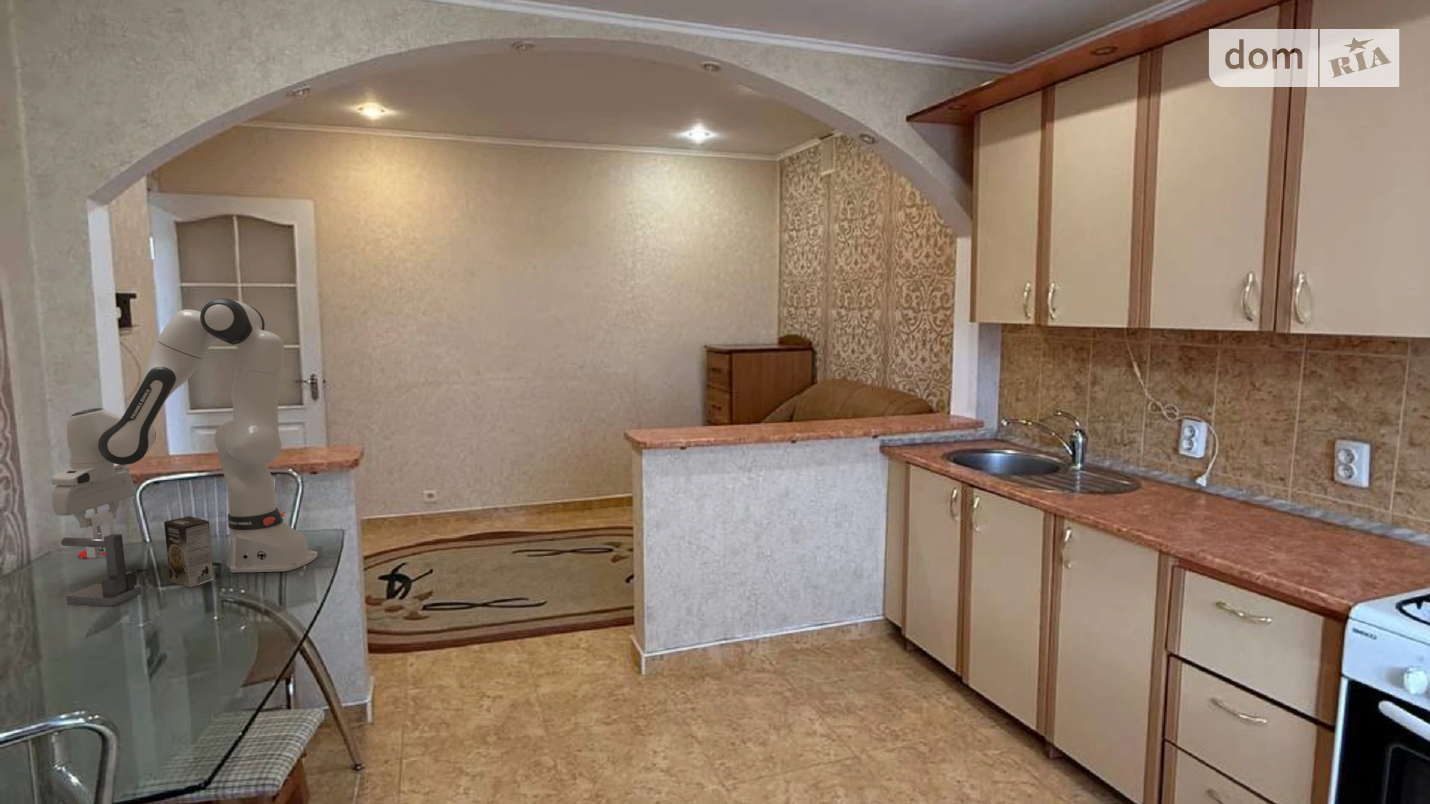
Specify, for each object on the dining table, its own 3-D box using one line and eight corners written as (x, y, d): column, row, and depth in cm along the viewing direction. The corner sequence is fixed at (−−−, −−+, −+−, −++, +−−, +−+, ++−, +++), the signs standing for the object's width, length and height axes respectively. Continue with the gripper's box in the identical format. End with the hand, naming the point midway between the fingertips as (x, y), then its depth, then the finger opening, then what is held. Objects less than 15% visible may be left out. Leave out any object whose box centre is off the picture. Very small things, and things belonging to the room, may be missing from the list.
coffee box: (168, 582, 198) (162, 521, 196) (195, 574, 204) (189, 515, 202) (188, 588, 194) (182, 526, 192) (215, 580, 200) (209, 519, 197)
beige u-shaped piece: (116, 550, 206) (112, 512, 205) (95, 557, 200) (91, 518, 199) (107, 549, 206) (103, 511, 205) (87, 557, 200) (82, 518, 199)
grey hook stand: (141, 593, 191) (134, 530, 188) (112, 606, 183) (105, 541, 181) (86, 590, 192) (79, 528, 190) (56, 603, 185) (48, 538, 182)
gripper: (117, 462, 211) (122, 511, 213) (44, 480, 191) (50, 534, 193) (138, 462, 210) (143, 512, 212) (67, 480, 190) (73, 535, 192)
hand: (98, 522), depth 202 cm, fingers closed on beige u-shaped piece, 6 cm apart
